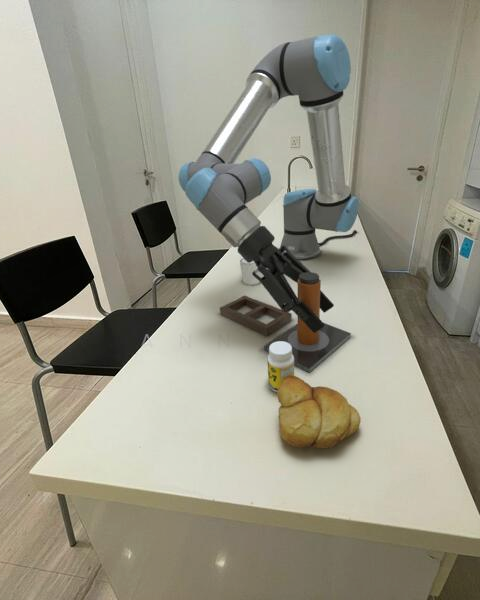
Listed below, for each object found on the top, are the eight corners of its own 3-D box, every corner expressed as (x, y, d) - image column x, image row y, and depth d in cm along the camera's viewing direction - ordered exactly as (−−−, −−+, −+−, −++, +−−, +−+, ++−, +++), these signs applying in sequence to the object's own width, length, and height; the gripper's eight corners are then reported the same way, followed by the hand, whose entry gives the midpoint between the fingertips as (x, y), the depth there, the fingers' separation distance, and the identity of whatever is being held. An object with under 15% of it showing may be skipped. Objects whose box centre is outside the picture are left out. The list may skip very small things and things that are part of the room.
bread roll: (357, 411, 55) (361, 373, 51) (363, 463, 46) (368, 422, 43) (280, 405, 57) (279, 368, 53) (272, 454, 48) (270, 413, 44)
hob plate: (307, 320, 82) (307, 316, 81) (350, 336, 74) (351, 332, 74) (263, 349, 71) (263, 345, 71) (309, 372, 64) (309, 368, 63)
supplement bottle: (264, 380, 62) (262, 343, 59) (287, 373, 64) (286, 337, 60) (274, 396, 58) (273, 358, 55) (298, 388, 60) (298, 351, 56)
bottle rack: (245, 301, 92) (244, 295, 91) (291, 320, 82) (291, 313, 81) (220, 314, 86) (219, 307, 85) (267, 336, 76) (267, 328, 75)
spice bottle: (305, 331, 75) (306, 269, 68) (322, 338, 72) (325, 275, 66) (293, 340, 72) (292, 276, 65) (310, 347, 69) (312, 282, 63)
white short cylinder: (260, 286, 101) (259, 264, 98) (238, 284, 102) (236, 263, 99) (265, 277, 107) (264, 256, 104) (244, 276, 108) (243, 255, 105)
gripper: (258, 235, 77) (323, 305, 79) (212, 265, 60) (297, 354, 62) (278, 213, 73) (347, 288, 75) (236, 239, 56) (326, 336, 58)
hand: (324, 318), depth 68 cm, fingers open, 8 cm apart
